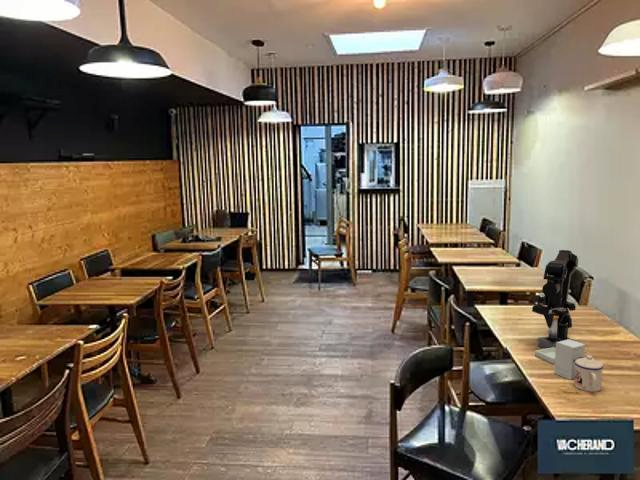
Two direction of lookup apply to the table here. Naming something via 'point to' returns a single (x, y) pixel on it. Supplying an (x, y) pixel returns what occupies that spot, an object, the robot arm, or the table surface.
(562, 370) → the supplement box
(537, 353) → the tray
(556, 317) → the pin
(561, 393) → the table surface
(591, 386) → the teacup with lid
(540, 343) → the bracket
